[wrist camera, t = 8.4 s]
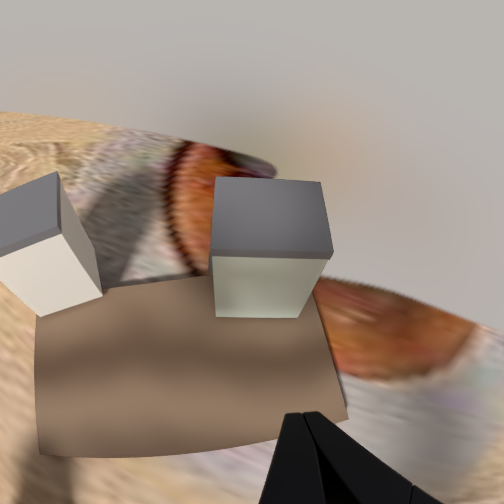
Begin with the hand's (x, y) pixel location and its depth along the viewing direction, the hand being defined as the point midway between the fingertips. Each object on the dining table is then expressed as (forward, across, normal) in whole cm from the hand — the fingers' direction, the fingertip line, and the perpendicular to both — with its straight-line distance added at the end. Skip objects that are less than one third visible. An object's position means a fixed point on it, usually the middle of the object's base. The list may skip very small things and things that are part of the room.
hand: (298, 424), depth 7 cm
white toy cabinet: (+14, +13, +1) cm, 19 cm away
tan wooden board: (+11, +5, +5) cm, 13 cm away
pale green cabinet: (+14, 0, +1) cm, 14 cm away
